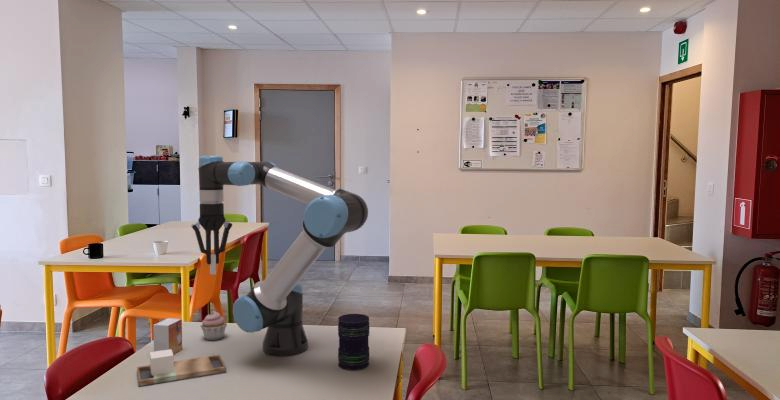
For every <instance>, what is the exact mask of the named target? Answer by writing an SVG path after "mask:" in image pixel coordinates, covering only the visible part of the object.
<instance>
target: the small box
mask: <svg viewBox="0 0 780 400" xmlns="http://www.w3.org/2000/svg"><path fill="white" fill-rule="evenodd" d="M152 330H153V352H155V351H162V350H169V349H172V353H173V355H174V354H177V353H178V352H180V351H182V350H183V321H182V318H172V317H171V318H170V317H169V318H168V317H167V318H165V319H164V320H160V321H159V322H157V323H154V324H153V329H152Z"/></svg>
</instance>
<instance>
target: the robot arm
mask: <svg viewBox="0 0 780 400" xmlns="http://www.w3.org/2000/svg"><path fill="white" fill-rule="evenodd" d="M197 169H198V181H199V182H198V186H199V188H198V189H199V193H198V194H199V202H200V204H199V218H198V219H197V221H196V222H194V224H191V228H192V229H193V231H194V233H195V237H196V240H197V243H198V248H199V251H200V253H201V254H205V256H206V257H205V258H206V260H205V261H206V264H207V265H209V274H210V275H212V276H213V275H217V265H218V264H219V263H220V255H221V253H224V252H225V251H226V250H225V249H226V246H227V242H228V237H229V233H230V230H231V228H232V227H233V223H232V222H229V221H227V220H226V217H225V215H224V214H225V213H224V212H225V207H224V205H225V204H224V203H223V202H224V200H225V198H224V186H236V187H241V186H242V187H243V186H250V185H251V186H253V185H260V186H262V187H264V188H267V189H270V190H272V191H275V192H277V193H280V194H282V195H285V197H286V196H287V197H289V198H292V199H294V200H296V201H298V202H301V203H303V204H306V205H307V206H306V207H305V210H304V214H303V216H304V219H303V221H302V223H301V227H302V231H301V232H300V233H299V235H298V236H297V237H296V239H295V240H294V241H293V242H292V244H291V245H290V247H288V249H287V250H286V251H285V253H284V254H283V256H282V257H281V258H280V260H279V261H277V263H276V265H275V266H274V267H273V268H272V270H271V271H270V273H269V274H268V275H267V277H266V278H265V279H264V280H260V281H257V282H256V283H254V285H253V287H252V288H251V289H250V290H249V292H248V293H247V294H246V295H241V296H240V297H238V298H237V299H236V300H235V301H234V303H233V306H232V314H233V319H234V322H235V323H236V325H237V326H238V327H239V328H240V329H241V330H242V331H243V332H245V333H250V334H251V333H255V332H260V331H261V330H263V329H266V328H267V329H266V332H265V334H264V337H263V341H262V351H263V353H265V354H268V355H271V356H278V357H279V356H280V357H281V356H283V357H285V356H286V357H287V356H293V355H297V354H300V353H303V352H305V351H306V350H308V347H309V340H308V337H307V335H306V331H305V328H304V326H303V325H304V324H303V320H304V319H303V316H304V315H303V311H304V310H303V299H304V298H303V297H304V296H303V295H304V292H303V285H302V284H301V283H300V281H301V280H302V278H303V277H304V276H305V274H307V272H308V271H309V270H310V268H311V267H312V266H313V265H314V263H316V261H317V260H318V258H319V257H320V256H321V255H322V254H323V252H324V251H325V250H326V249H330V248H333V247H334V246H335V245H337V243H338V242H339V241H340V239H341V238H342V237H343V236H344V235H345V234H347V233H351V232H355V231H357V230H359V229H361V228H362V227H363V226H364V225H365V223H366V222H367V220H368V217H369V216H368V215H369V208H368V205H367V203H366V201H365V199H364V198H362V197H361V196H360V195H358V194H356V193H353V192H350V191H349V190H348V191H347V190H344V189H342V188H337V189H333V188H331V187H328V186H325V185H323V184H321V183H318V182H315V181H313V180H310V179H308V178H305V177H302V176H300V175H297V174H295V173H291V172H290V171H287V170H284V169H282V168H279V167H278V166H277V165H276V164H275V163H274V162H270V161H224V158H223V156H221V155H201V156H199V159H198V168H197ZM222 226H223V227H224V229H223V232H222V236H221V242H220V238H219V237H220V230H221V228H222ZM201 227H202V228H203V230H204V231H205V233H204V234H205V245H204V242H203V237H202V235H201V230H200V229H201ZM212 232H213V251H214V253H212Z"/></svg>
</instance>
